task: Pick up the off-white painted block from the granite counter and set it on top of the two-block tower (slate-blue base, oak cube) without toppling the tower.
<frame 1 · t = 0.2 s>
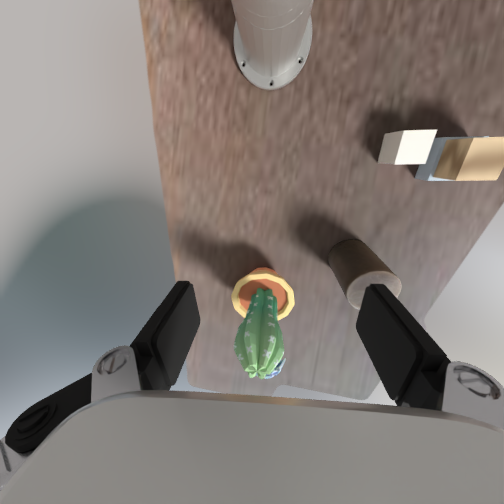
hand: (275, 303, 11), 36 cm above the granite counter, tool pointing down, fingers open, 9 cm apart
pillar candle: (347, 257, 49), on the granite counter
tower mid: (457, 158, 34), point 4 cm above the granite counter, touching tower base
white block: (394, 148, 38), on the granite counter
potted cactus: (263, 280, 54), on the granite counter
tower base: (439, 159, 38), on the granite counter, touching tower mid
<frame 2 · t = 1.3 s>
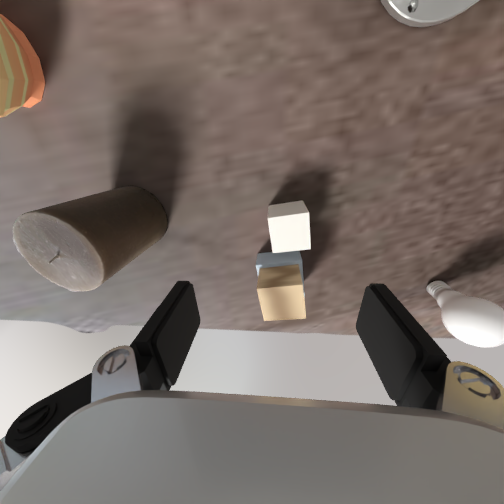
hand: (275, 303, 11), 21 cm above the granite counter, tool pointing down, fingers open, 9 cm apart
lightbulb: (432, 283, 33), on the granite counter
pillar candle: (139, 215, 33), on the granite counter
tower mid: (281, 282, 31), point 4 cm above the granite counter, touching tower base
white block: (287, 218, 30), on the granite counter
potted cactus: (9, 63, 24), on the granite counter
tower base: (280, 267, 35), on the granite counter, touching tower mid
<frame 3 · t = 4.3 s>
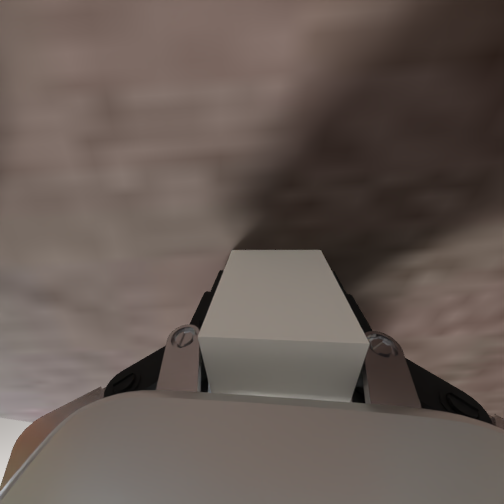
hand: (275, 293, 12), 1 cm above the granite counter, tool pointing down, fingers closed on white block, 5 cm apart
white block: (274, 285, 12), on the granite counter, touching gripper
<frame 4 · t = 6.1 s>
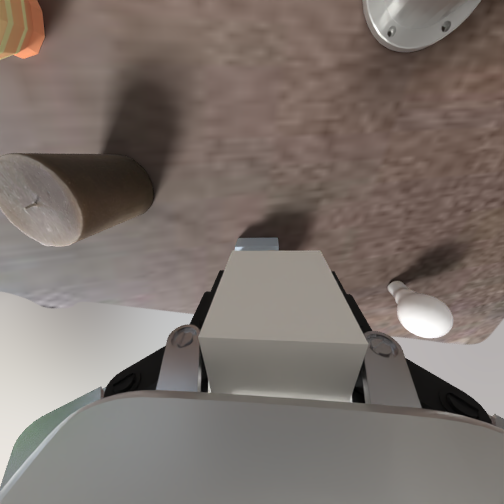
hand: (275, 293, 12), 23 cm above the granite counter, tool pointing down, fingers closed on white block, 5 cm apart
lightbulb: (392, 284, 37), on the granite counter
pillar candle: (125, 186, 32), on the granite counter
white block: (274, 286, 12), point 22 cm above the granite counter, touching gripper
potted cactus: (8, 10, 24), on the granite counter
tower base: (258, 254, 36), on the granite counter, touching tower mid
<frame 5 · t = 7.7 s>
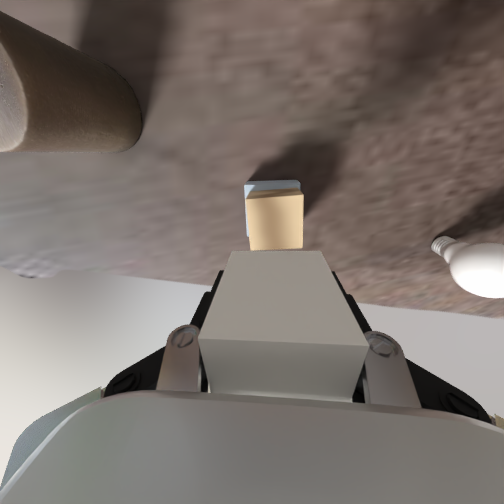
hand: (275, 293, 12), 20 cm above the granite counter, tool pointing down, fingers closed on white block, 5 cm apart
lightbulb: (437, 242, 30), on the granite counter
pillar candle: (106, 112, 26), on the granite counter
tower mid: (274, 212, 26), point 4 cm above the granite counter, touching tower base
white block: (274, 286, 12), point 19 cm above the granite counter, touching gripper
tower base: (271, 204, 29), on the granite counter, touching tower mid
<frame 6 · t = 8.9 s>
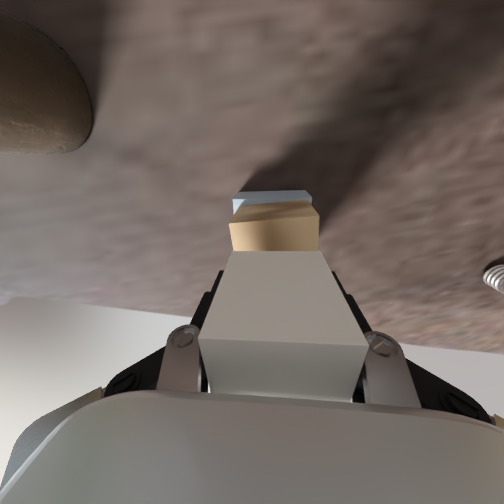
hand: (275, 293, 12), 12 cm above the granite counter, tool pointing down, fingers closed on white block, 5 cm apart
lightbulb: (489, 270, 23), on the granite counter
pillar candle: (43, 96, 19), on the granite counter
tower mid: (274, 233, 19), point 4 cm above the granite counter, touching tower base
white block: (274, 286, 12), point 11 cm above the granite counter, touching gripper
tower base: (271, 222, 22), on the granite counter, touching tower mid
when the fingers open (11 cm above the granite counter, at t = 10.1 s): white block drops 1 cm, resting on tower mid.
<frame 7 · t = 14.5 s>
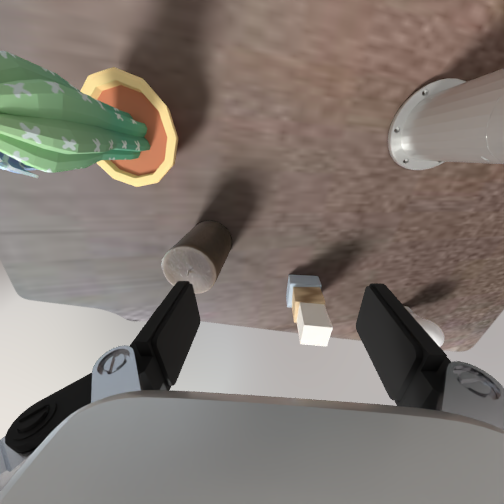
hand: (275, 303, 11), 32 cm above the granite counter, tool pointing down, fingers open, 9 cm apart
lightbulb: (401, 307, 50), on the granite counter
pillar candle: (211, 239, 45), on the granite counter
tower mid: (305, 297, 46), point 4 cm above the granite counter, touching tower base, white block
white block: (310, 312, 41), point 9 cm above the granite counter, touching tower mid
potted cactus: (154, 137, 37), on the granite counter
tower base: (301, 286, 49), on the granite counter, touching tower mid
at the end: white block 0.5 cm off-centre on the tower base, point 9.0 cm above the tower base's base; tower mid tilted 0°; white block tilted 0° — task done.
